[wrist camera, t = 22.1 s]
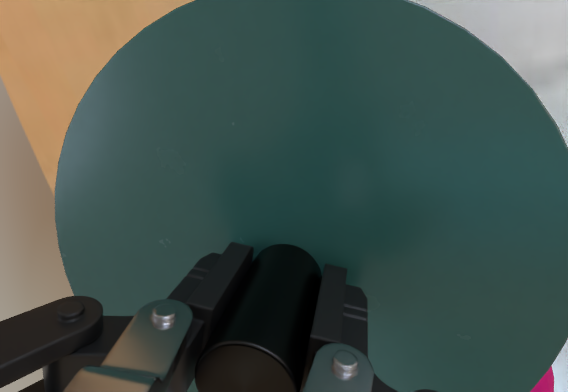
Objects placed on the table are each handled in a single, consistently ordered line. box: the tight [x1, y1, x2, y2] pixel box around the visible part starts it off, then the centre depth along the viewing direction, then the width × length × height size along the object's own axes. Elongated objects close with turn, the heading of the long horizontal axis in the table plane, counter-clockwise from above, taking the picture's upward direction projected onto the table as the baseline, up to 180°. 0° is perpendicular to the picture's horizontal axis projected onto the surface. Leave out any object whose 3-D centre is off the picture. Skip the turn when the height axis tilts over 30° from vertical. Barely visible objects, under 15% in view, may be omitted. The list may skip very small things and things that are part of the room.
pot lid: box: [55, 0, 568, 392], centre depth 11 cm, size 18×18×6 cm
